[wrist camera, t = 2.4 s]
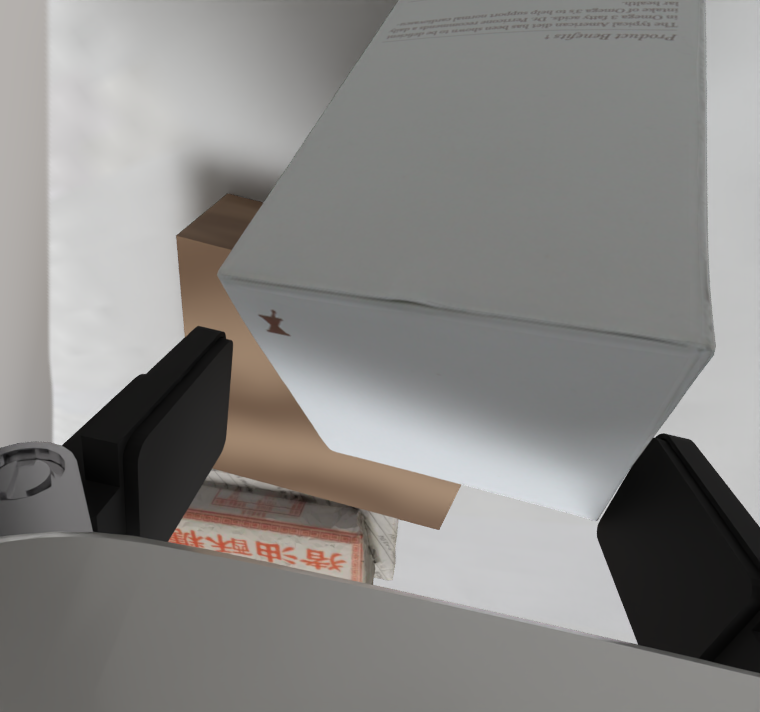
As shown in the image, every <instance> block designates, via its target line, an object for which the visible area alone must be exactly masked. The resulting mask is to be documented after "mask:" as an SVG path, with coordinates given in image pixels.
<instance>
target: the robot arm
mask: <svg viewBox="0 0 760 712" xmlns="http://www.w3.org/2000/svg"><path fill="white" fill-rule="evenodd" d="M232 357H233V341H232V340H229V339H226V334H225V332H223V331H219V330H215V329H210V328H206V327H202V326H197V327H195V328H194V329H193V330H192V331H191V332H190V333H189V334H188V335H187V336H186V337H185V338H184V339H183V340H182V341H181V342H179V343H178V344H177V345H176V346H175V347H174V348H173V349H172V350H171V351H170V352H169V353H168V354H167V355H166V356H165V357H164V358H162V359H161V360H160V361H159V362H158V363H157V364H156V365H155V366H154V367H153V368H152V369H151V370H150V371H149V372H148V373H147V374H141V375H139V376H137V377H136V378H135V379H134V380H132V381H131V382H130V383H129V384H128V385H127V386H126V387H125V388H124V389H123V390H122V391H121V392H119V393H118V394H117V395H116V396H115V397H114V398H113V399H112V400H111V401H110V402H109V403H108V404H106V405H105V406H104V407H103V408H102V409H101V410H100V411H99V412H98V413H97V414H96V415H95V416H93V417H92V418H91V419H90V420H89V421H88V422H87V423H86V424H85V425H84V426H83V427H82V428H80V429H79V430H78V431H77V432H76V433H75V434H74V435H73V436H72V437H71V438H70V439H68V440H67V441H66V442H65V443H64V444H63V445H62V446H60V445H57V444H54V443H50V442H26V443H17V444H13V445H9V446H6V447H2V448H0V712H760V527H759V526H758V524H757V523H756V522H755V521H754V519H753V518H752V517H751V515H750V514H749V513H748V512H747V510H746V509H745V508H744V506H743V505H742V504H741V503H740V501H739V500H738V499H737V497H736V496H735V495H734V494H733V492H732V491H731V490H730V488H729V487H728V486H727V485H726V483H725V482H724V481H723V479H722V478H721V477H720V476H719V474H718V473H717V472H716V471H715V469H714V468H713V467H712V465H711V464H710V463H709V462H708V460H707V459H706V458H705V456H704V455H703V454H702V453H701V451H700V450H699V449H698V447H697V446H696V445H695V444H694V442H692V441H691V440H689V439H685V438H681V437H677V436H672V435H668V434H664V433H663V434H659V435H658V436H656V438H652V440H651V441H650V443H649V444H648V445H647V447H646V448H645V449H644V451H643V452H642V454H641V455H640V456H639V458H638V459H637V460H636V462H635V463H634V464H633V466H632V467H631V469H630V471H629V472H628V474H627V476H626V477H625V479H624V481H623V483H622V484H621V486H620V488H619V489H618V491H617V493H616V494H615V496H614V498H613V499H612V501H611V503H610V505H609V506H608V508H607V510H606V511H605V513H604V515H603V516H602V518H601V520H600V522H599V524H598V527H597V538H598V541H599V544H600V546H601V549H602V552H603V554H604V557H605V559H606V562H607V565H608V567H609V570H610V572H611V575H612V578H613V580H614V583H615V585H616V588H617V591H618V593H619V596H620V598H621V601H622V604H623V606H624V609H625V611H626V614H627V617H628V619H629V622H630V624H631V627H632V630H633V632H634V635H635V637H636V640H637V643H638V645H637V644H632V643H628V642H624V641H619V640H615V639H611V638H606V637H602V636H598V635H593V634H589V633H585V632H580V631H576V630H572V629H567V628H563V627H558V626H554V625H550V624H545V623H541V622H536V621H532V620H528V619H523V618H519V617H514V616H510V615H505V614H501V613H497V612H492V611H488V610H483V609H479V608H474V607H470V606H465V605H461V604H456V603H452V602H447V601H443V600H439V599H434V598H430V597H425V596H421V595H416V594H412V593H407V592H403V591H398V590H394V589H389V588H384V587H380V586H375V585H371V584H366V583H362V582H357V581H352V580H348V579H343V578H339V577H334V576H330V575H325V574H320V573H316V572H311V571H307V570H302V569H298V568H293V567H289V566H284V565H279V564H275V563H270V562H266V561H261V560H256V559H251V558H247V557H242V556H237V555H232V554H228V553H223V552H218V551H213V550H209V549H203V548H198V547H193V546H187V545H182V544H176V543H171V542H168V541H169V539H170V538H171V536H172V534H173V533H174V531H175V529H176V528H177V526H178V524H179V523H180V521H181V519H182V518H183V516H184V514H185V513H186V511H187V509H188V508H189V506H190V504H191V503H192V501H193V499H194V498H195V496H196V494H197V493H198V491H199V490H200V488H201V486H202V485H203V483H204V481H205V480H206V478H207V476H208V475H209V473H210V471H211V470H212V468H213V466H214V465H215V463H216V461H217V460H218V458H219V456H220V455H221V453H222V451H223V448H224V445H225V441H226V435H227V422H228V409H229V396H230V383H231V370H232Z"/></svg>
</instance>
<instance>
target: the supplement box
mask: <svg viewBox="0 0 760 712" xmlns="http://www.w3.org/2000/svg"><path fill="white" fill-rule="evenodd" d="M217 276H218V278H219V280H220V281H221V283H222V285H223V287H224V289H225V290H226V292H227V294H228V296H229V297H230V299H231V301H232V303H233V304H234V306H235V308H236V310H237V311H238V313H239V315H240V317H241V318H242V320H243V321H244V323H245V325H246V326H247V328H248V329H249V331H250V332H251V334H252V336H253V337H254V339H255V340H256V342H257V343H258V345H259V346H260V348H261V349H262V351H263V352H264V354H265V355H266V357H267V358H268V360H269V361H270V363H271V364H272V366H273V367H274V369H275V370H276V372H277V373H278V375H279V376H280V378H281V379H282V381H283V382H284V383H285V385H286V386H287V388H288V389H289V390H290V392H291V394H292V395H293V397H294V398H295V400H296V401H297V403H298V404H299V406H300V407H301V409H302V410H303V412H304V413H305V415H306V416H307V418H308V419H309V421H310V422H311V424H312V425H313V426H314V428H315V430H316V431H317V433H318V434H319V436H320V437H321V439H322V440H323V442H324V443H325V444H326V445H327V447H328V448H329V449H330V450H332V451H335V452H338V453H342V454H346V455H350V456H354V457H358V458H362V459H366V460H370V461H374V462H378V463H381V464H385V465H389V466H393V467H397V468H401V469H405V470H409V471H412V472H416V473H420V474H424V475H427V476H431V477H435V478H439V479H442V480H446V481H450V482H454V483H457V484H461V485H465V486H468V487H472V488H476V489H480V490H483V491H487V492H491V493H495V494H498V495H502V496H506V497H510V498H513V499H517V500H521V501H525V502H528V503H532V504H536V505H540V506H543V507H547V508H551V509H554V510H558V511H562V512H566V513H569V514H573V515H576V516H579V517H583V518H586V519H589V520H593V521H597V520H598V519H599V517H600V515H601V514H602V512H603V511H604V509H605V508H606V506H607V504H608V503H609V501H610V500H611V498H612V496H613V495H614V493H615V492H616V490H617V488H618V487H619V485H620V484H621V482H622V481H623V479H624V477H625V476H626V474H627V473H628V471H629V470H630V468H631V467H632V466H633V464H634V463H635V462H636V460H637V459H638V458H639V456H640V455H641V454H642V452H643V451H644V449H645V448H646V447H647V445H648V444H649V443H650V441H651V440H652V438H653V437H654V436H655V434H656V433H657V432H658V430H659V429H660V427H661V426H662V425H663V423H664V422H665V421H666V419H667V418H668V417H669V415H670V414H671V413H672V411H673V410H674V409H675V407H676V406H677V404H678V403H679V401H680V400H681V399H682V397H683V396H684V394H685V393H686V391H687V390H688V389H689V387H690V386H691V385H692V383H693V382H694V381H695V379H696V378H697V376H698V375H699V374H700V372H701V371H702V370H703V369H704V367H705V366H706V365H707V363H708V362H709V361H710V359H711V358H712V357H713V355H714V352H715V348H716V344H715V334H714V325H713V315H712V305H711V293H710V278H709V255H708V213H707V80H706V6H705V0H398V2H397V3H396V5H395V6H394V8H393V9H392V11H391V12H390V14H389V15H388V17H387V18H386V20H385V21H384V23H383V24H382V26H381V27H380V29H379V30H378V32H377V33H376V35H375V36H374V38H373V39H372V41H371V42H370V44H369V45H368V47H367V48H366V50H365V51H364V53H363V54H362V56H361V57H360V58H359V60H358V61H357V63H356V64H355V66H354V67H353V69H352V70H351V72H350V73H349V75H348V76H347V78H346V80H345V81H344V83H343V84H342V85H341V87H340V88H339V90H338V91H337V93H336V94H335V96H334V97H333V99H332V100H331V102H330V104H329V105H328V107H327V108H326V110H325V111H324V113H323V114H322V116H321V117H320V119H319V120H318V122H317V123H316V125H315V126H314V128H313V129H312V131H311V132H310V134H309V135H308V137H307V138H306V140H305V141H304V143H303V144H302V146H301V147H300V149H299V150H298V151H297V153H296V154H295V156H294V158H293V159H292V161H291V162H290V164H289V165H288V167H287V169H286V170H285V171H284V173H283V174H282V175H281V177H280V178H279V180H278V181H277V183H276V184H275V186H274V187H273V189H272V190H271V192H270V194H269V195H268V197H267V198H266V200H265V201H264V203H263V204H262V206H261V207H260V209H259V210H258V212H257V213H256V215H255V216H254V218H253V219H252V221H251V222H250V224H249V225H248V227H247V228H246V229H245V231H244V232H243V234H242V235H241V237H240V238H239V240H238V242H237V243H236V245H235V246H234V248H233V249H232V251H231V252H230V254H229V255H228V257H227V258H226V260H225V261H224V263H223V264H222V266H221V267H220V269H219V270H218V273H217Z"/></svg>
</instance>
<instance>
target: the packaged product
mask: <svg viewBox="0 0 760 712" xmlns="http://www.w3.org/2000/svg"><path fill="white" fill-rule="evenodd" d="M397 528H398V519H396V518H393V517H389V516H385V515H382V514H378V513H374V512H371V511H367V510H363V509H359V508H356V507H352V506H348V505H345V504H341V503H337V502H334V501H330V500H326V499H323V498H319V497H315V496H311V495H308V494H304V493H300V492H297V491H293V490H289V489H286V488H282V487H278V486H275V485H271V484H267V483H263V482H260V481H256V480H252V479H249V478H245V477H241V476H238V475H234V474H230V473H227V472H223V471H219V470H216V469H212V470H211V471H210V473H209V475H208V476H207V478H206V480H205V481H204V483H203V485H202V486H201V488H200V490H199V491H198V493H197V494H196V496H195V498H194V499H193V501H192V503H191V504H190V506H189V508H188V509H187V511H186V513H185V514H184V516H183V518H182V519H181V521H180V523H179V524H178V526H177V528H176V529H175V531H174V533H173V534H172V536H171V538H170V539H169V541H168V542H171V543H176V544H182V545H187V546H193V547H198V548H203V549H209V550H213V551H218V552H223V553H228V554H232V555H237V556H242V557H247V558H251V559H256V560H261V561H266V562H270V563H275V564H279V565H284V566H289V567H293V568H298V569H302V570H307V571H311V572H316V573H320V574H325V575H330V576H334V577H339V578H343V579H348V580H352V581H357V582H362V583H366V584H371V585H373V577H374V578H379V579H383V580H388V581H391V580H393V574H394V568H395V545H396V538H397Z"/></svg>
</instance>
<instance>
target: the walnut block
mask: <svg viewBox="0 0 760 712" xmlns="http://www.w3.org/2000/svg"><path fill="white" fill-rule="evenodd" d="M262 204H263V202H259V201H255V200H251V199H247V198H243V197H239V196H236V195H232V194H226V195H225V196H224V197H223V198H221V199H220V200H219V201H218V202H217V203H215V204H214V205H213V206H212V207H211V208H209V209H208V210H207V211H206V212H204V213H203V214H202V215H201V216H200V217H198V218H197V219H196V220H195V221H193V222H192V223H191V224H190V225H189V226H187V227H186V228H185V229H184V230H182V231H181V232H180V233H179V234H178V235H176V239H177V250H178V262H179V274H180V286H181V297H182V309H183V321H184V332H185V337H186V336H187V335H188V334H189V333H190V332H191V331H192V330H193V329H194V328H195V327H197V326H202V327H206V328H210V329H215V330H219V331H223V332H225V334H226V339H229V340H232V341H233V357H232V370H231V383H230V396H229V409H228V422H227V435H226V441H225V445H224V448H223V451H222V453H221V455H220V456H219V458H218V460H217V461H216V463H215V465H214V466H213V468H212V469H216V470H219V471H223V472H227V473H230V474H234V475H238V476H241V477H245V478H249V479H252V480H256V481H260V482H263V483H267V484H271V485H275V486H278V487H282V488H286V489H289V490H293V491H297V492H300V493H304V494H308V495H311V496H315V497H319V498H323V499H326V500H330V501H334V502H337V503H341V504H345V505H348V506H352V507H356V508H359V509H363V510H367V511H371V512H374V513H378V514H382V515H385V516H389V517H393V518H396V519H400V520H404V521H407V522H411V523H415V524H418V525H422V526H426V527H430V528H433V529H437V530H439V529H440V527H441V525H442V523H443V521H444V519H445V517H446V515H447V513H448V511H449V509H450V507H451V505H452V503H453V501H454V499H455V496H456V494H457V492H458V490H459V488H460V486H461V484H457V483H454V482H450V481H446V480H442V479H439V478H435V477H431V476H427V475H424V474H420V473H416V472H412V471H409V470H405V469H401V468H397V467H393V466H389V465H385V464H381V463H378V462H374V461H370V460H366V459H362V458H358V457H354V456H350V455H346V454H342V453H338V452H335V451H332V450H330V449H329V448H328V447H327V445H326V444H325V443H324V442H323V440H322V439H321V437H320V436H319V434H318V433H317V431H316V430H315V428H314V426H313V425H312V424H311V422H310V421H309V419H308V418H307V416H306V415H305V413H304V412H303V410H302V409H301V407H300V406H299V404H298V403H297V401H296V400H295V398H294V397H293V395H292V394H291V392H290V390H289V389H288V388H287V386H286V385H285V383H284V382H283V381H282V379H281V378H280V376H279V375H278V373H277V372H276V370H275V369H274V367H273V366H272V364H271V363H270V361H269V360H268V358H267V357H266V355H265V354H264V352H263V351H262V349H261V348H260V346H259V345H258V343H257V342H256V340H255V339H254V337H253V336H252V334H251V332H250V331H249V329H248V328H247V326H246V325H245V323H244V321H243V320H242V318H241V317H240V315H239V313H238V311H237V310H236V308H235V306H234V304H233V303H232V301H231V299H230V297H229V296H228V294H227V292H226V290H225V289H224V287H223V285H222V283H221V281H220V280H219V278H218V276H217V273H218V270H219V269H220V267H221V266H222V264H223V263H224V261H225V260H226V258H227V257H228V255H229V254H230V252H231V251H232V249H233V248H234V246H235V245H236V243H237V242H238V240H239V238H240V237H241V235H242V234H243V232H244V231H245V229H246V228H247V227H248V225H249V224H250V222H251V221H252V219H253V218H254V216H255V215H256V213H257V212H258V210H259V209H260V207H261V206H262Z"/></svg>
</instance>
